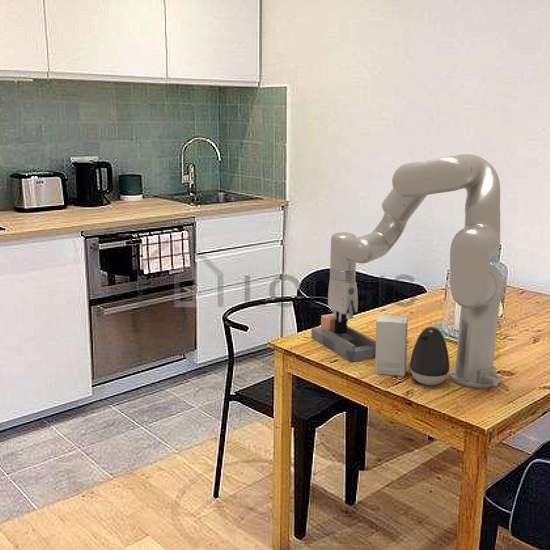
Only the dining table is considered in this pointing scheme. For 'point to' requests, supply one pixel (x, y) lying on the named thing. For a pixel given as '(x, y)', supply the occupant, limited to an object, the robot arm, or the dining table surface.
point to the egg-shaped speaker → (430, 357)
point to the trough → (347, 343)
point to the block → (328, 322)
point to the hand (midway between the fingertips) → (340, 332)
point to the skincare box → (391, 344)
